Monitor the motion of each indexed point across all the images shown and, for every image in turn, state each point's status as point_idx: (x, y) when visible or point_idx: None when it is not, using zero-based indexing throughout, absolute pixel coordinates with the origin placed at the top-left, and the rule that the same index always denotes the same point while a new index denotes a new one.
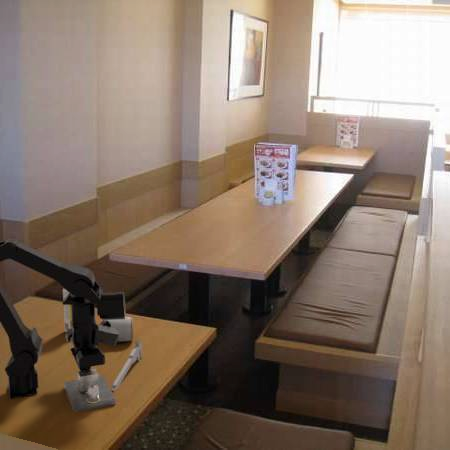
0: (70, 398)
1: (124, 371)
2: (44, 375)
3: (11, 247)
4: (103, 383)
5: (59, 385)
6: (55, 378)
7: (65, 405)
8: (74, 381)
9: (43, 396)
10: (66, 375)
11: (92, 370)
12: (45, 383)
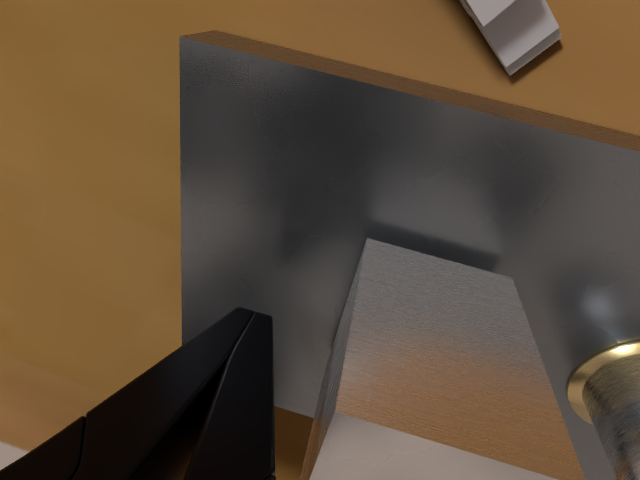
0: None
1: None
2: (6, 342)
3: None
4: (394, 143)
5: (159, 346)
6: (55, 320)
7: None
8: (198, 328)
9: None
10: (21, 255)
11: (375, 469)
12: (109, 379)
